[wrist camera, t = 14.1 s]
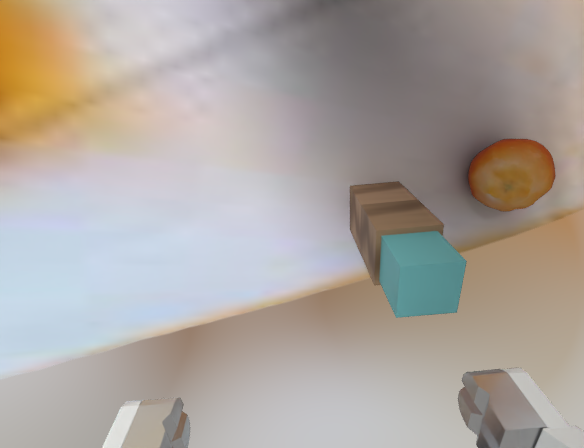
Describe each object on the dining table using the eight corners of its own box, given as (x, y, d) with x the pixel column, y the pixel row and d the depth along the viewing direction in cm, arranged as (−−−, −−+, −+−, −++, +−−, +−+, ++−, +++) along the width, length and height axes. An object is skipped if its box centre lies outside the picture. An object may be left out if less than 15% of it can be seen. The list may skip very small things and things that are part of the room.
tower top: (361, 204, 34) (376, 230, 28) (417, 199, 34) (443, 224, 28) (360, 252, 36) (374, 285, 31) (412, 248, 36) (436, 279, 31)
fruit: (550, 181, 38) (559, 217, 32) (474, 189, 43) (470, 222, 37) (549, 115, 35) (559, 142, 29) (467, 132, 39) (461, 158, 34)
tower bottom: (349, 185, 39) (361, 204, 34) (398, 181, 39) (417, 199, 34) (349, 229, 42) (360, 253, 36) (395, 225, 42) (412, 248, 36)
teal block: (381, 235, 28) (400, 267, 24) (437, 230, 28) (466, 261, 24) (379, 281, 31) (396, 317, 26) (430, 276, 31) (456, 312, 26)
